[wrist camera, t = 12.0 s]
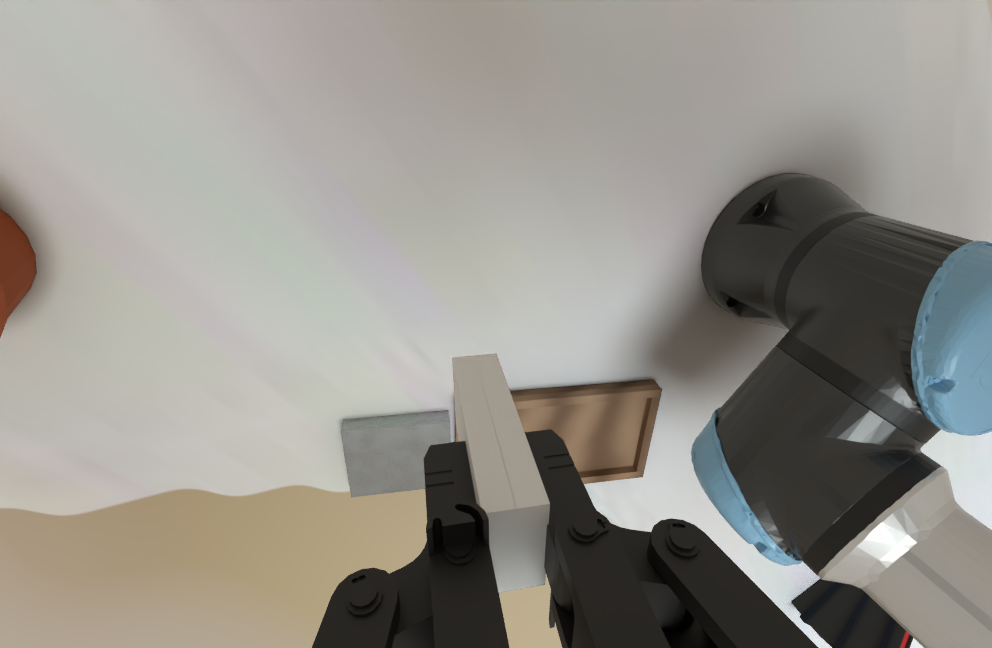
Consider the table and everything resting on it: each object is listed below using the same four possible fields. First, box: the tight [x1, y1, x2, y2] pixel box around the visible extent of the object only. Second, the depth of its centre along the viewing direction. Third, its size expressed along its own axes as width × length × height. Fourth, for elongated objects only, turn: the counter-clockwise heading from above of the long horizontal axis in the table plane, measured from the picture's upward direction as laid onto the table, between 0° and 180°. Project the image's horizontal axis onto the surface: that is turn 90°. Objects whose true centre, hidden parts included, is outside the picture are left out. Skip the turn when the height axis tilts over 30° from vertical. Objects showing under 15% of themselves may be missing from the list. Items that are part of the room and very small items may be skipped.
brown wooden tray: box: [455, 380, 662, 484], centre depth 55 cm, size 23×13×2 cm, turn 89°
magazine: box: [792, 579, 913, 648], centre depth 77 cm, size 4×13×15 cm, turn 141°
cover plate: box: [341, 410, 450, 497], centre depth 52 cm, size 11×9×2 cm
